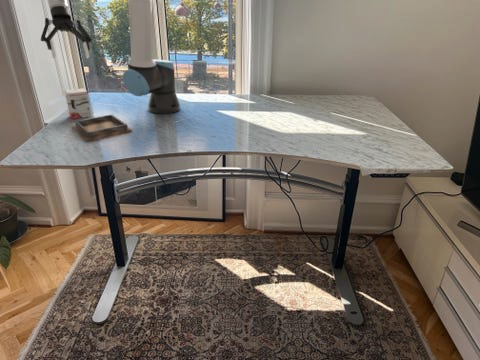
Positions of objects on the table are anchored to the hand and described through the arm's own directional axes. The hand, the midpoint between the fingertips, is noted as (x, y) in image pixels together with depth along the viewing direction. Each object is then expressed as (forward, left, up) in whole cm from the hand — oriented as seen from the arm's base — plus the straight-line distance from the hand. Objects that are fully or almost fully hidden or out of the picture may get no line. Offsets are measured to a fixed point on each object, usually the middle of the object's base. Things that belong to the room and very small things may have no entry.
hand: (71, 57), depth 148 cm
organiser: (-13, +24, -25) cm, 37 cm away
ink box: (-1, +6, -25) cm, 26 cm away
